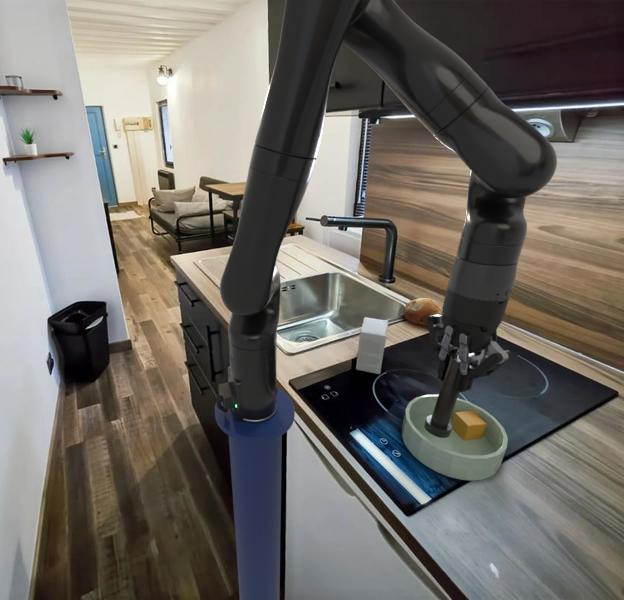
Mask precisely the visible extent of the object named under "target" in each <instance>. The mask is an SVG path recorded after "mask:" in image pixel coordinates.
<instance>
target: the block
mask: <svg viewBox="0 0 624 600" xmlns="http://www.w3.org/2000/svg"><path fill="white" fill-rule="evenodd" d="M485 427H486V423H485V422H484V421H483V420H482V419H481V418H480V417H479V416H478V415H477V414H476V413H475V412H474V411H473V410H471V411H463V412H455V414H454V418H453V421H452V428H453V429H454V430H455V431H456V433H457V434H458V435H459V436H460V437H461V438H462V439H463V440H473V439H481V438H482V437H483V434H484V430H485Z"/></svg>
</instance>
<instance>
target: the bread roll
mask: <svg viewBox="0 0 624 600" xmlns="http://www.w3.org/2000/svg"><path fill="white" fill-rule="evenodd" d="M437 314H443V311H442V307H441V306H440V304H439V303H438V302H437V301H436V300H434V299H431V298H428V297H418V298H414V299H412V300H410V301H409V302H408V303H406V305H405V307H404V309H403V316H404V318H405V319H406V320H407V321H409V322H410V323H413V324H415V325H417V326H418V325H420V326H423V327H428V325H427V317H428V316H432V315H437Z"/></svg>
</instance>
